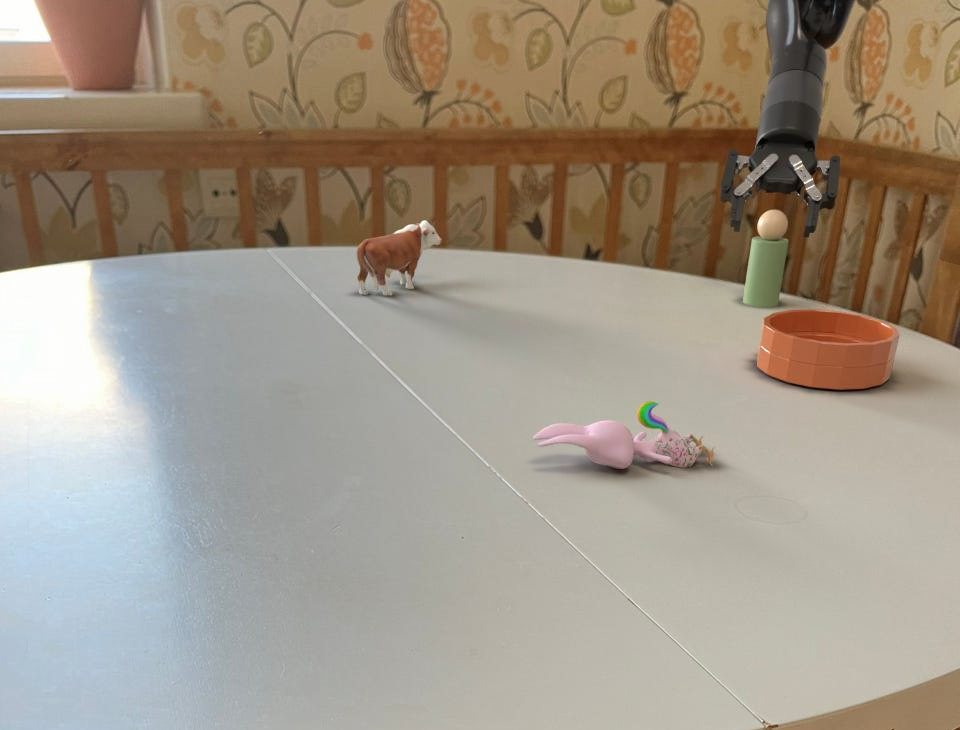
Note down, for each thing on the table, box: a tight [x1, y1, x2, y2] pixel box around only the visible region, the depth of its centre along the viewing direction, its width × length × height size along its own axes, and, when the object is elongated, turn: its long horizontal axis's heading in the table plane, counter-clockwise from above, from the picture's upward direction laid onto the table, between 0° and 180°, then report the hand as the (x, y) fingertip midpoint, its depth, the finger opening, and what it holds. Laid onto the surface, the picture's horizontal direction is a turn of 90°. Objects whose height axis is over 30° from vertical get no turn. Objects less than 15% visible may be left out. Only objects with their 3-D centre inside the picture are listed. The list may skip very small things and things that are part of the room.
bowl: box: [756, 308, 901, 391], centre depth 107 cm, size 13×13×5 cm
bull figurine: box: [356, 219, 443, 297], centre depth 133 cm, size 4×13×8 cm, turn 137°
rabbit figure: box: [532, 400, 716, 470], centre depth 84 cm, size 6×6×15 cm
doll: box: [742, 209, 789, 308], centre depth 130 cm, size 4×4×11 cm
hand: (771, 230), depth 130 cm, fingers open, 8 cm apart
